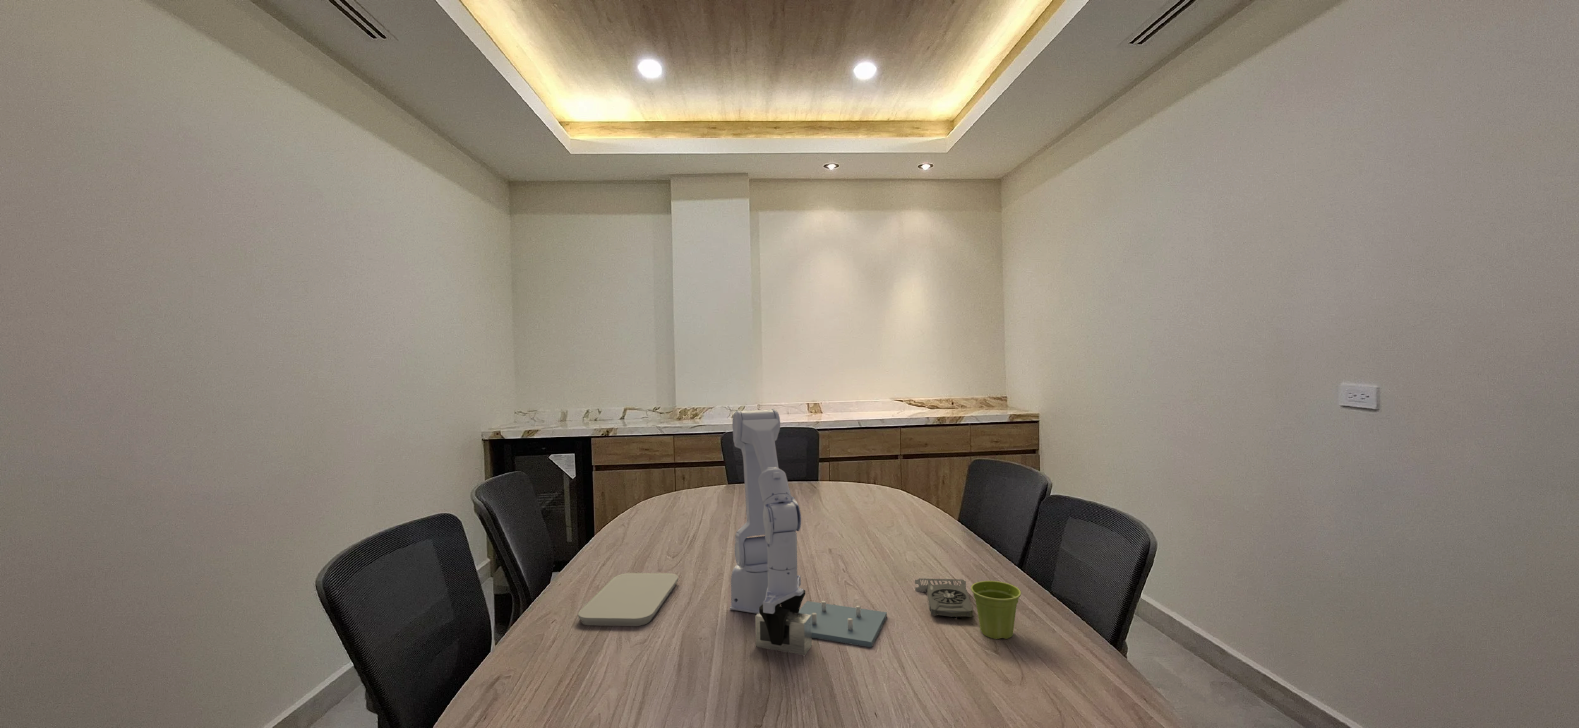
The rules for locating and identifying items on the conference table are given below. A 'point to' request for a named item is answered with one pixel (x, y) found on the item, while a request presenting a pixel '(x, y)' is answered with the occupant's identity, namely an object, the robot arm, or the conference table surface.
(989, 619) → the plant pot
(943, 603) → the graphics card
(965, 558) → the conference table surface
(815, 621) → the tray
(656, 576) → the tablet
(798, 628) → the beige rectangular block
